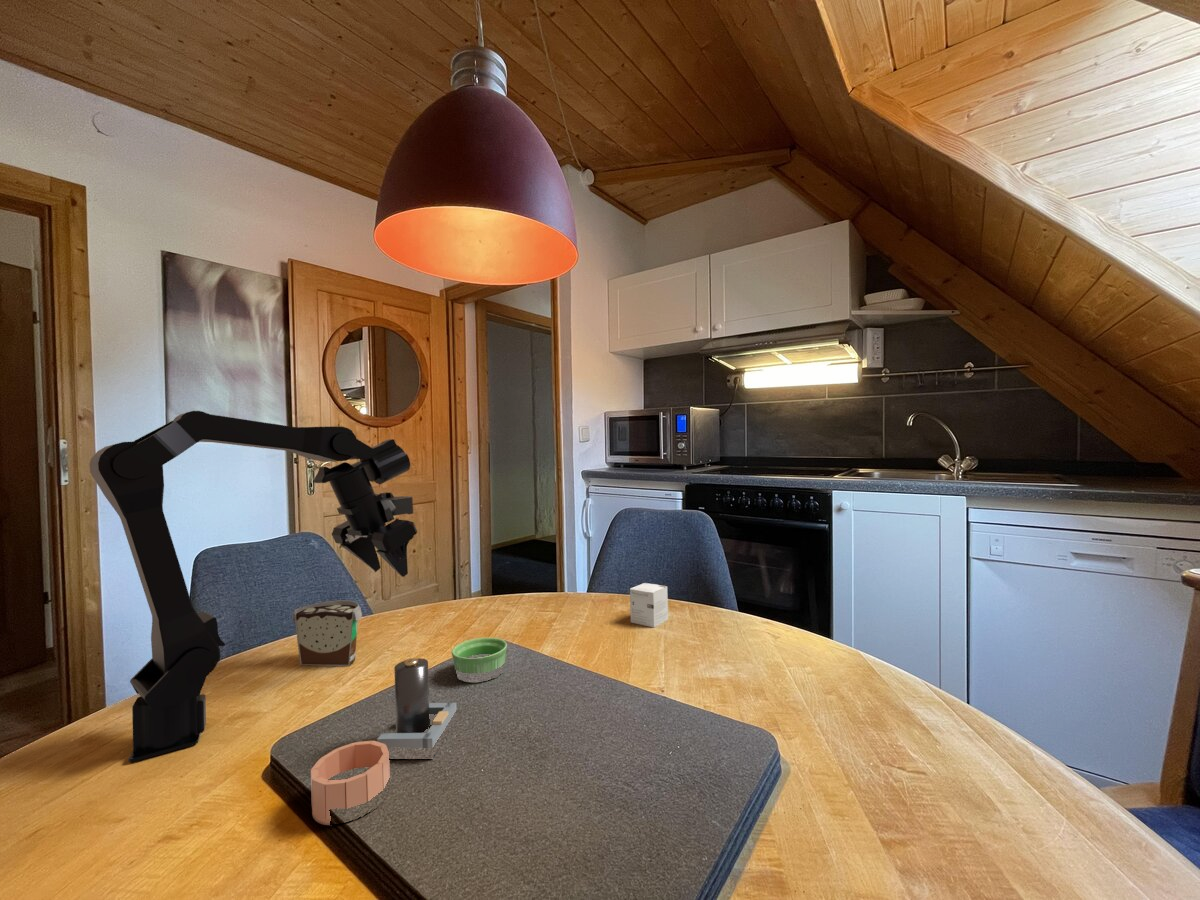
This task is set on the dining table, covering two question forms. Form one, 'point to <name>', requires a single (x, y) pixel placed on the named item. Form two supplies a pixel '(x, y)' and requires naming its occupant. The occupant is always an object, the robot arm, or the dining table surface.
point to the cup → (353, 788)
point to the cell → (412, 696)
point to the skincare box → (649, 604)
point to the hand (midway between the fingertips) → (391, 572)
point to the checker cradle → (423, 739)
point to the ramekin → (475, 648)
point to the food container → (327, 632)
